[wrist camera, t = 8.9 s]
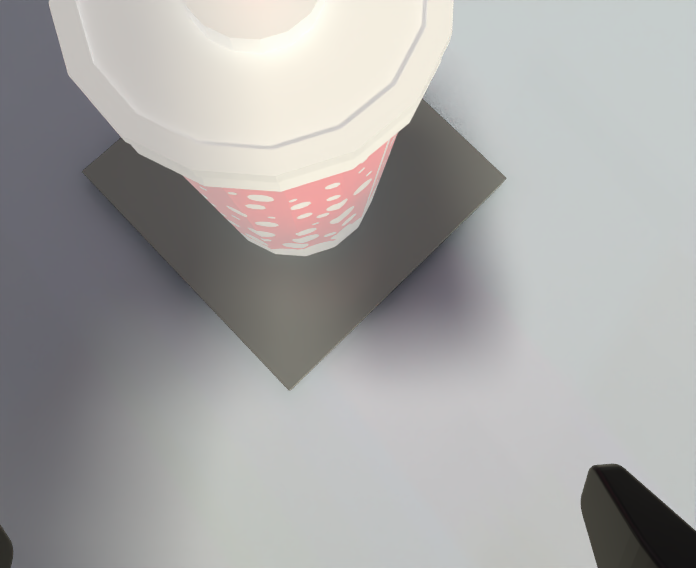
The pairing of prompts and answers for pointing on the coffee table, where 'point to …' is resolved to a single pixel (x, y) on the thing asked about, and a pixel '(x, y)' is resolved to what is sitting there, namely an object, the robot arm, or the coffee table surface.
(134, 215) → the coaster
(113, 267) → the coffee table surface
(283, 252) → the beverage cup
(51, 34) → the coffee table surface
